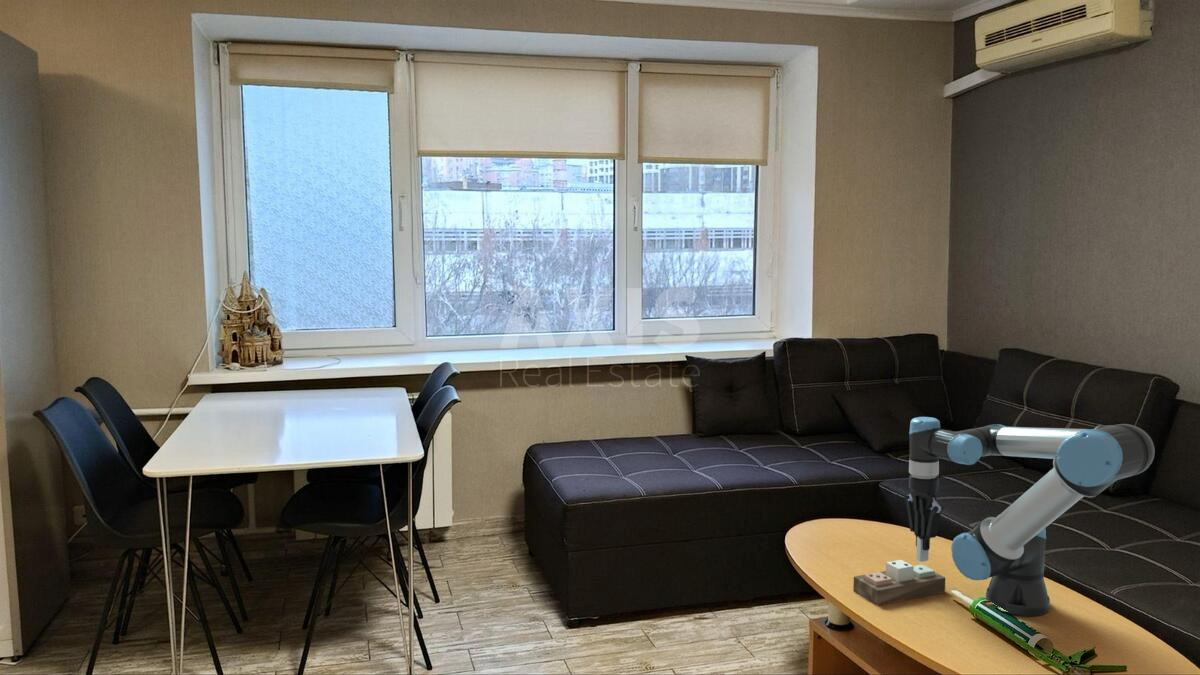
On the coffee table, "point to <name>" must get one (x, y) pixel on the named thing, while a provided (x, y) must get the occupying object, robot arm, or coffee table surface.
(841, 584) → the coffee table surface
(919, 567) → the tile one
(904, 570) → the tile two
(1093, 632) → the coffee table surface
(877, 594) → the board
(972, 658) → the coffee table surface
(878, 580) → the tile three
